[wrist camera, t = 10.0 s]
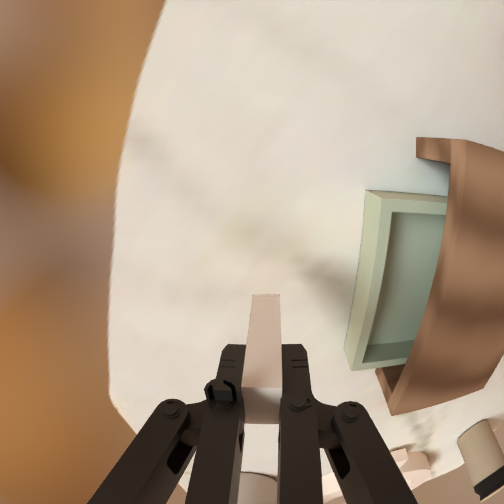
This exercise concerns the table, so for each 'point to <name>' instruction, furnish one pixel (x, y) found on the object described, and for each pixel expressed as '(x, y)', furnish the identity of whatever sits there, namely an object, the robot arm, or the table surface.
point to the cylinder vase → (257, 489)
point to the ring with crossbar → (409, 464)
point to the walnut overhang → (458, 286)
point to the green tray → (393, 276)
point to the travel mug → (483, 459)
